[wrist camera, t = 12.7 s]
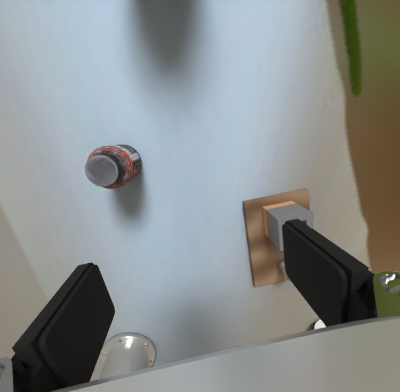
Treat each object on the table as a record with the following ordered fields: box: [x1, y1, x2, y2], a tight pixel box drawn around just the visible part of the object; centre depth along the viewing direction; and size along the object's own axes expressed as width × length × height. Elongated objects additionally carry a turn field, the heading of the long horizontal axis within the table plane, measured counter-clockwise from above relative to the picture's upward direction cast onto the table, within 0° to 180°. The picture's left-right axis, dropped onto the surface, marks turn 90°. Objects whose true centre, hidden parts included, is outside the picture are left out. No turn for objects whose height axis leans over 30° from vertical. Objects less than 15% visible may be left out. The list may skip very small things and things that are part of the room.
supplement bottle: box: [85, 145, 141, 189], centre depth 30 cm, size 6×6×11 cm
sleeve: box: [263, 201, 313, 251], centre depth 37 cm, size 6×6×6 cm
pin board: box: [243, 188, 309, 287], centre depth 40 cm, size 20×13×6 cm, turn 11°
